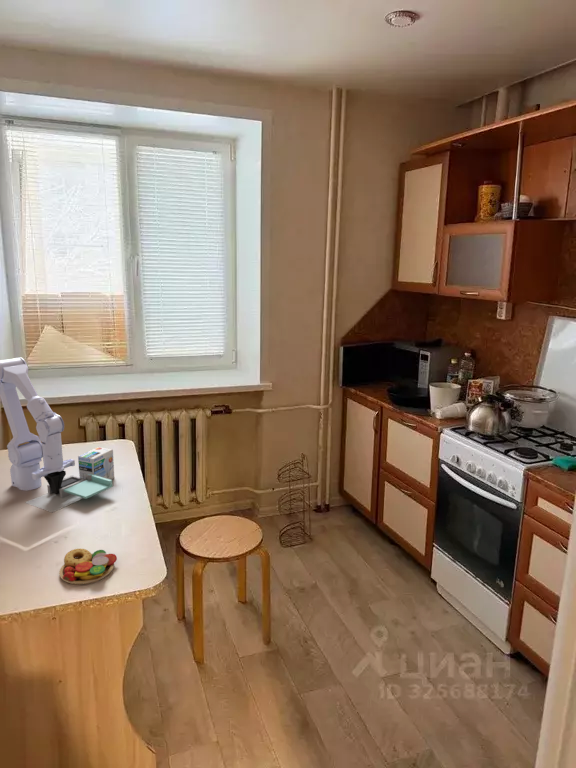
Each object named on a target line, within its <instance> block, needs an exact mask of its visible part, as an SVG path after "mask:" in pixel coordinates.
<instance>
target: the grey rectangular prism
mask: <svg viewBox="0 0 576 768" xmlns="http://www.w3.org/2000/svg"><path fill="white" fill-rule="evenodd" d="M75 482H77V480H74V479H69V480H67V481H64V482H62V484H61V488H63V487H66V486H68V485H70V484H73V483H75ZM61 488H60V489H61ZM59 494H60V493H59Z"/></svg>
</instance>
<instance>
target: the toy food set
mask: <svg viewBox="0 0 576 768" xmlns="http://www.w3.org/2000/svg"><path fill="white" fill-rule="evenodd" d="M117 560H118V557H117V555H116V554H115V553H107V552H106V551H105V549H98V550H96V551H94V552H93V553H91V551H90V550H88V549H85V548H75V549H72V550H70V551H68V552H67V553H66V554H65V555H64V558H63V565H62V566H61V567H60V569H59V572H58V574H59V578H60V579H62V581H64V582H65V583H69V584H71V585H76V586H78V585H81V586H82V585H89V584H93V583H96V582H98V581H100V580H103V579H104V578H106V577H107V576H108V575H109V574H110V573H111V572H112V571H113V569H114V567H115V563H116V562H117Z"/></svg>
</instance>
